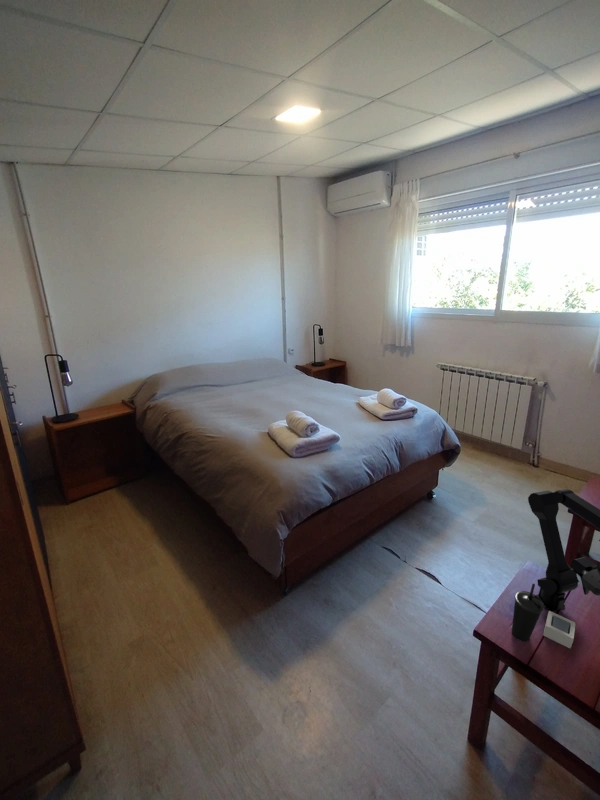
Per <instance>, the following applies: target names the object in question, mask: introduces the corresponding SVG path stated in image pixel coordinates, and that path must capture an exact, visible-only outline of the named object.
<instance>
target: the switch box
mask: <svg viewBox="0 0 600 800" xmlns="http://www.w3.org/2000/svg"><path fill="white" fill-rule="evenodd" d="M554 617H556V618H558V619H560V620H563V621H565V622H567V623H569V629H568V633H566V632H564V631H562V630H560V629H557V628H555V627H553V626H551V625H552V621H553V618H554ZM575 629H576V622H575V621H573V620H571V619H568V618H566V617H565V616H562V615H560V614H557V613H555V612H554V611H552V612H551V611H549V610H548V613H547V617H546V620H545V625H544V630H543V634H542V636H544V637H545V638H548V639H550V640H551V641H553V642H556V643H557V644H560V645H562V646H564V647H566V648H568V649H572V645H573V643H574V640H575V639H574V638H575Z"/></svg>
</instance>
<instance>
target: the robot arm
mask: <svg viewBox="0 0 600 800" xmlns="http://www.w3.org/2000/svg"><path fill="white" fill-rule="evenodd" d="M527 499H528V500H527V501H528V505H529V507H530V510H531V512H532V513H533V514H534V516H535V517H536V518H537V520H538V522H539V526H540V530H541V535H542V541H543V544H544V549H545V554H546V557H547V560H548V562H547V566H546V570H545V576H544V577H542V578H539V579H537V586H538V587H539V591H538V594H535V595H536V596H537V597H539V598H540V599H541V601H542V602H543V604H544V608H546V609H547V610H548V612H549V611H551V612H555V611H559V610H562V609H565V607H566V605H565V602H566V598H565V597H566V593H567V592H568V593H569V592H570V591H574V590H576V589H577V588H578V587H579V583H580V581H581V584H582V590H583V594H584V596H586V595H588V594H589V593H590V592H591V593H592V594H593V595H595V596H600V562H598V563H595V562H594V561H593V560H591V559H590V558H588V557H587V556H583V557H580V558H575V559H573V560H572V561H571V564H570V565H569V564H568V563H567V560H566V555H565V552H564V547H563V544H562V539H561V535H560V530H559V526H558V523H557V515H558V512H559V509H560V505H559V504H561V505H562V506H564V507H566V508H567V509H569V510H570V511H571V512H573V513H575V515H577V516H579V517H581V518H582V519H584V520H585V521H586V522H588V523H589V524H590V525H593V526H594V527H595V528H596V529H598V531H599V532H600V508H599V507H596V506H595V505H593V504H592V503H591V502H588V501H587V500H585V499H584V498H582V497H581V496H579V495H577V494H576V493H574V491H573V490H572V489H569V488H563V489H557V490H555V491H554V492H553V491H551V490H547V489H546V490H542V491H538V492H537V491H536V492H533V493H530V494H529V496H528V498H527ZM598 541H599V542H600V539H598ZM578 576H579V578H580V581H579V578H578Z"/></svg>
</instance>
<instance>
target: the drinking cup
mask: <svg viewBox="0 0 600 800" xmlns="http://www.w3.org/2000/svg"><path fill="white" fill-rule="evenodd" d="M535 588H536V584H535V583H532V584H531V588H530V592H529V591H526V590H519V591H517V592H515V594H514V607H513V616H512V625H511V626H512V627H511V633H512V636H513V637H514V638H515V639H517V640H518V641H520V642H524V643H526V642H528V641H529V640H530V638H531V637H532V634H533V632H534V629H535V628H536V626H537V623H538V621H539V618H540V616H541V614H542V613H543V611H544V610H545V606H544V604H543V602H542V601H541V599H540V598H539V597H537V596H536V595H537V594H534V591H535Z"/></svg>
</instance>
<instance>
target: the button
mask: <svg viewBox="0 0 600 800" xmlns="http://www.w3.org/2000/svg"><path fill="white" fill-rule="evenodd" d="M551 626H553V627H555V628H557V629H560V630H562V631H564V632H566V633H568V629H569V623H567V622H565V621H563V620H560V619H558V618H556V617H554V618H553V621H552V625H551Z"/></svg>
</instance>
